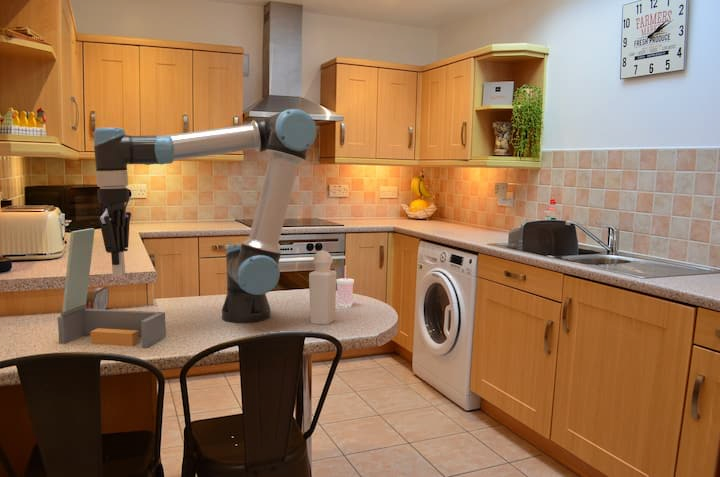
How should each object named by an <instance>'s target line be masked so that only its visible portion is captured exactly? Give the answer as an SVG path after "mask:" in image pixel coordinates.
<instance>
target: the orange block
mask: <svg viewBox="0 0 720 477" xmlns="http://www.w3.org/2000/svg"><path fill="white" fill-rule="evenodd" d="M90 333H91V335H90V343H91V345H107V346H122V347H123V346H124V347H134V346H136V345H137V344H139V343H140V337H139V331H138V330H120V329H103V328H97V329H95V330H93V331H90Z"/></svg>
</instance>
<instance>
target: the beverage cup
mask: <svg viewBox="0 0 720 477" xmlns="http://www.w3.org/2000/svg"><path fill="white" fill-rule="evenodd" d="M354 283H355V279H354V278H347V265H346V264H345V265H344V278H341V277H340V278H336V290H337V304H338V305H339V306H345V307H344V308H348V307H347V306H351V305H352V306H353V296H354V295H353V292H354V291H353V290H354ZM338 305H337V306H338ZM339 306H338V307H339ZM352 306H351V307H352Z"/></svg>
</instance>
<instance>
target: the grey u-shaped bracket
mask: <svg viewBox="0 0 720 477" xmlns="http://www.w3.org/2000/svg"><path fill="white" fill-rule="evenodd" d="M57 325H58V326H57V327H58V328H57V329H58V343H59V344H67V343H69V342H71V341H72V340H75V339H77V338H79V337H82V336H85V335H87V336H91V333H90V331H93V330H95V329H97V328H103V329H120V330H138V331H139V338H141V348H146V349H148V348H150V347H151V346H153V345H155V344H156V343H159V342H160V341H162V340H164V339H165V338H166V337H167V336H166V335H167V334H166V333H167V332H166V329H167V328H166V312H165V311H146V310H144V311H143V310H123V309H106V310H103V309H84V310H81V311H79V312H76V313H73V314H71V315H68V316H66V317H62V316H61V315H60V316H58V317H57Z"/></svg>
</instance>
